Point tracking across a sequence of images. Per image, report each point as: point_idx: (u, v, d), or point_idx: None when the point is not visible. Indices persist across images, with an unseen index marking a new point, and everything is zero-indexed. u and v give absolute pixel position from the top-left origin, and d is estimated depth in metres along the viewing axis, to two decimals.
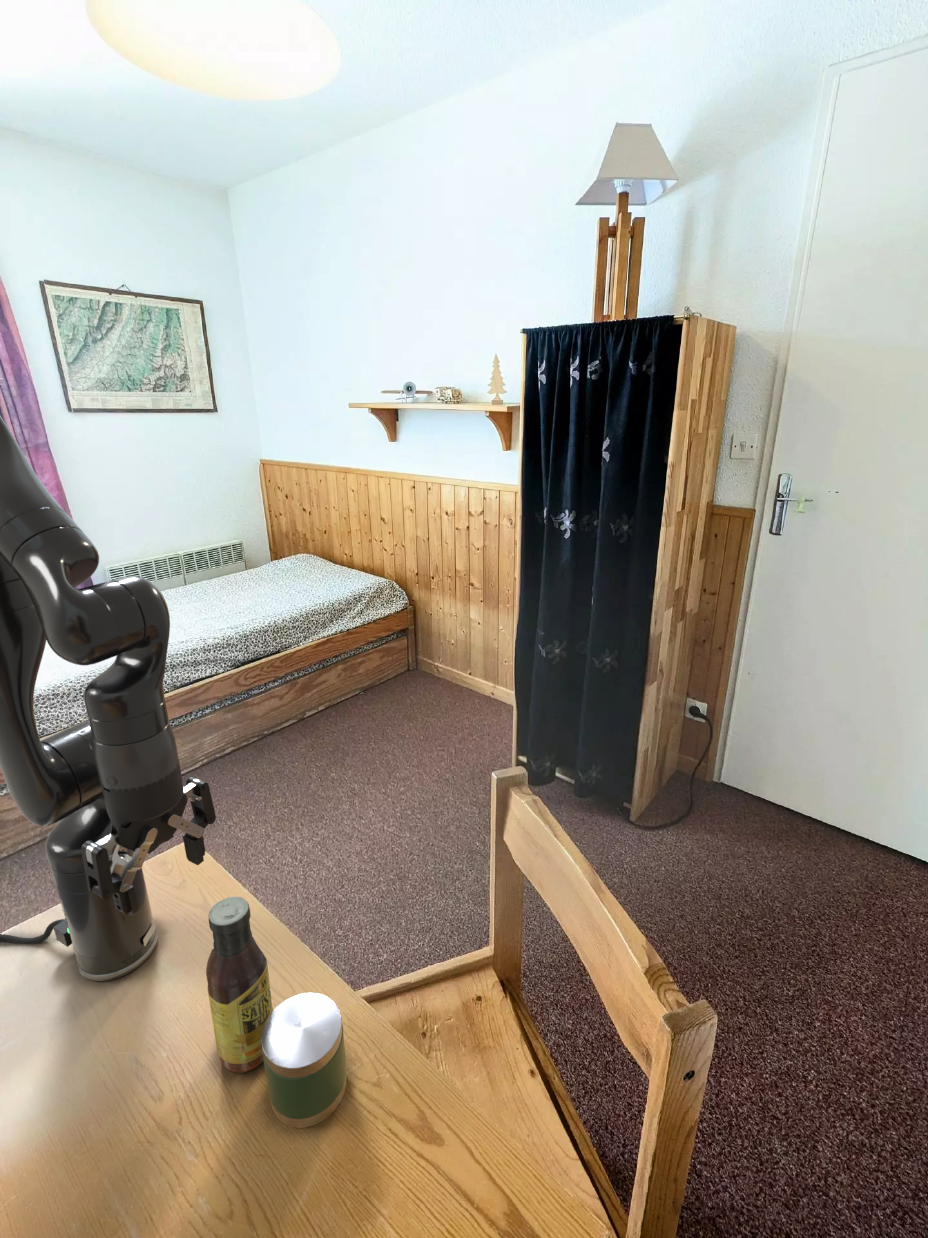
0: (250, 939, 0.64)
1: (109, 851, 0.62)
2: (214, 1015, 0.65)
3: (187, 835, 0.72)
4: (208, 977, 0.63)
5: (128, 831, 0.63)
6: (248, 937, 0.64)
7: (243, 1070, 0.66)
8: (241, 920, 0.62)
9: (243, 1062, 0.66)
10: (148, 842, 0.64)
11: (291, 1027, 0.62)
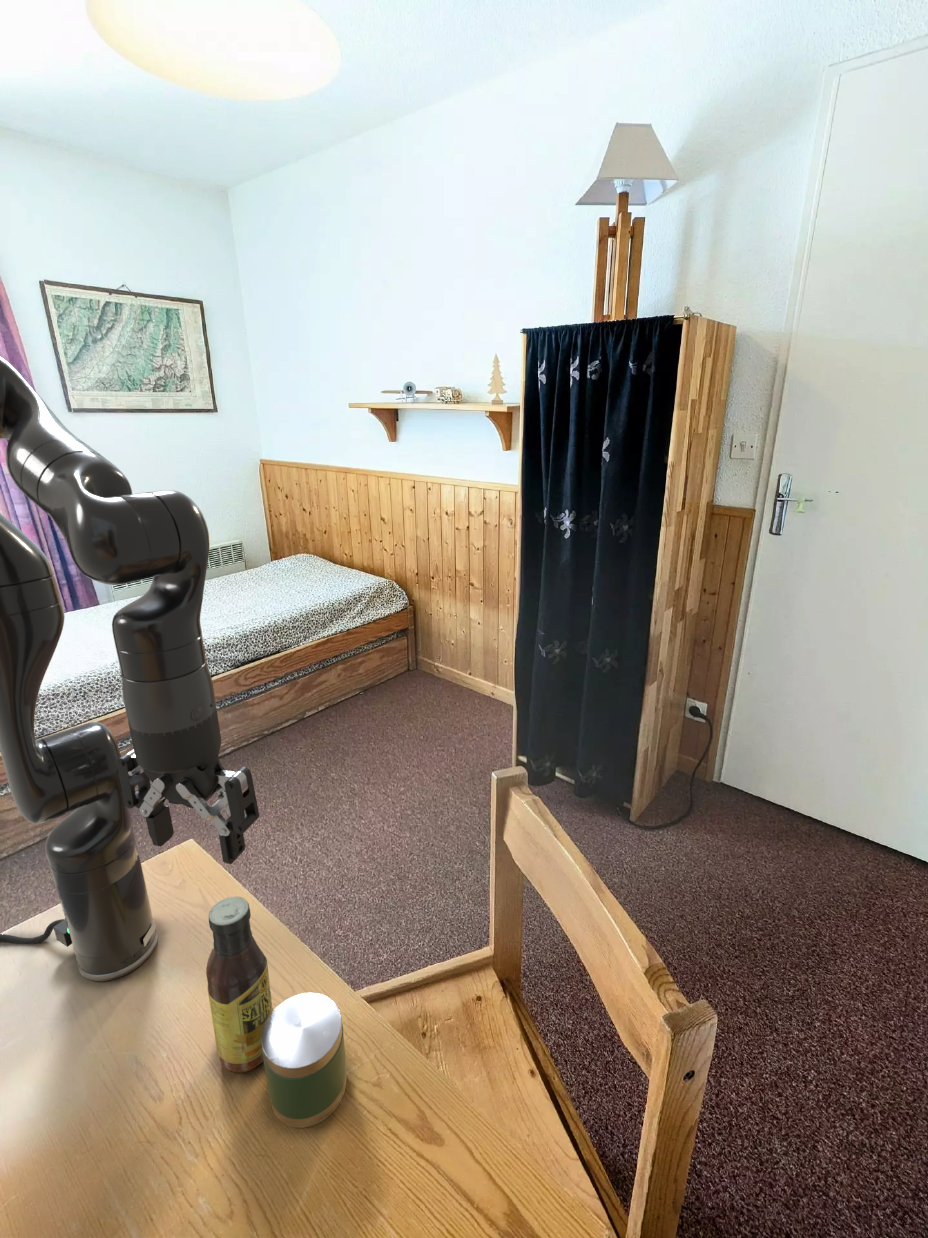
0: (250, 939, 0.64)
1: (138, 768, 0.60)
2: (214, 1015, 0.65)
3: None
4: (208, 977, 0.63)
5: None
6: (248, 937, 0.64)
7: (243, 1070, 0.66)
8: (241, 920, 0.62)
9: (243, 1062, 0.66)
10: (155, 789, 0.58)
11: (291, 1027, 0.62)
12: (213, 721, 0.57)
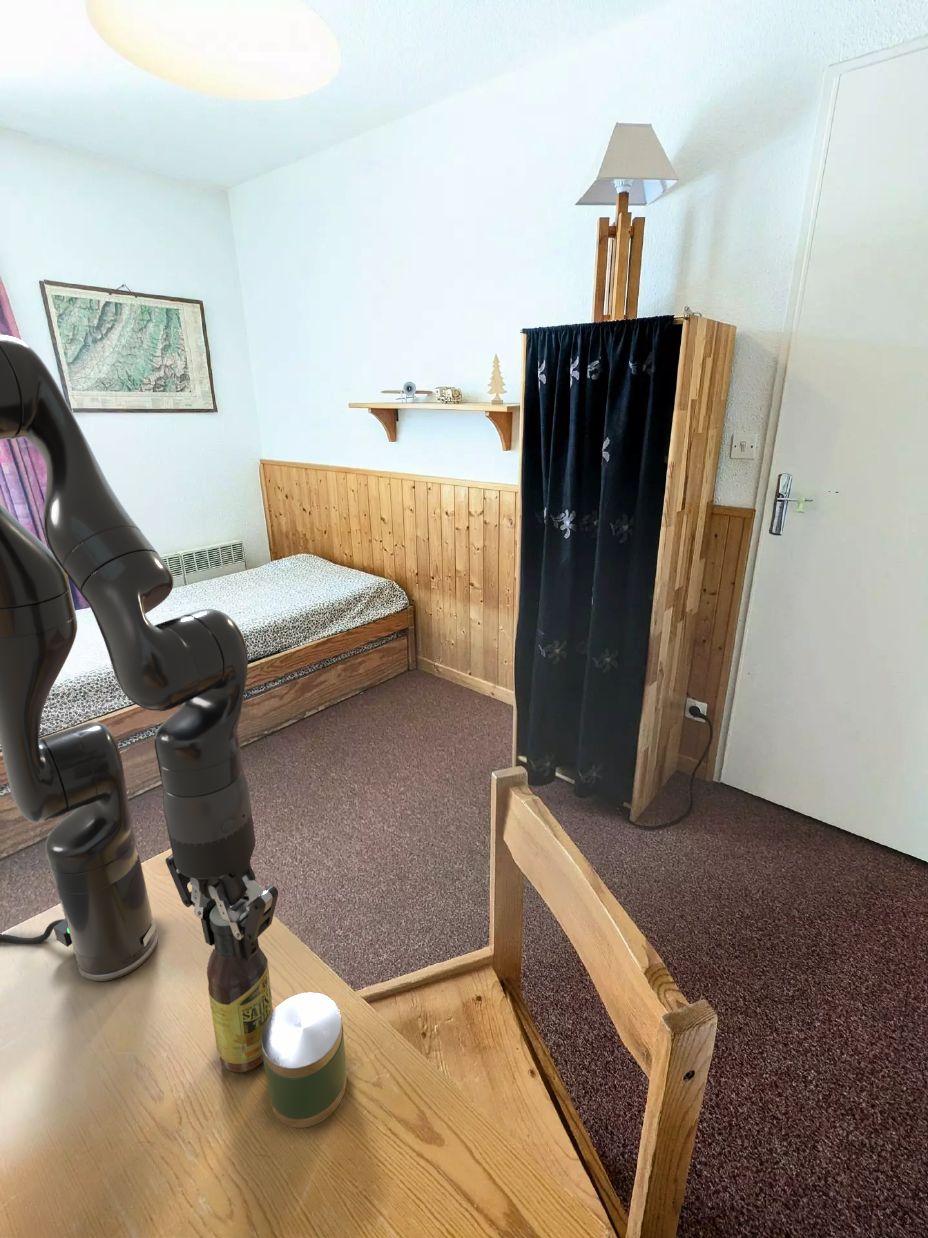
0: None
1: None
2: (214, 1015, 0.64)
3: None
4: (209, 977, 0.63)
5: None
6: None
7: (243, 1070, 0.66)
8: (243, 920, 0.62)
9: (243, 1062, 0.66)
10: (194, 887, 0.60)
11: (291, 1027, 0.62)
12: (245, 830, 0.58)
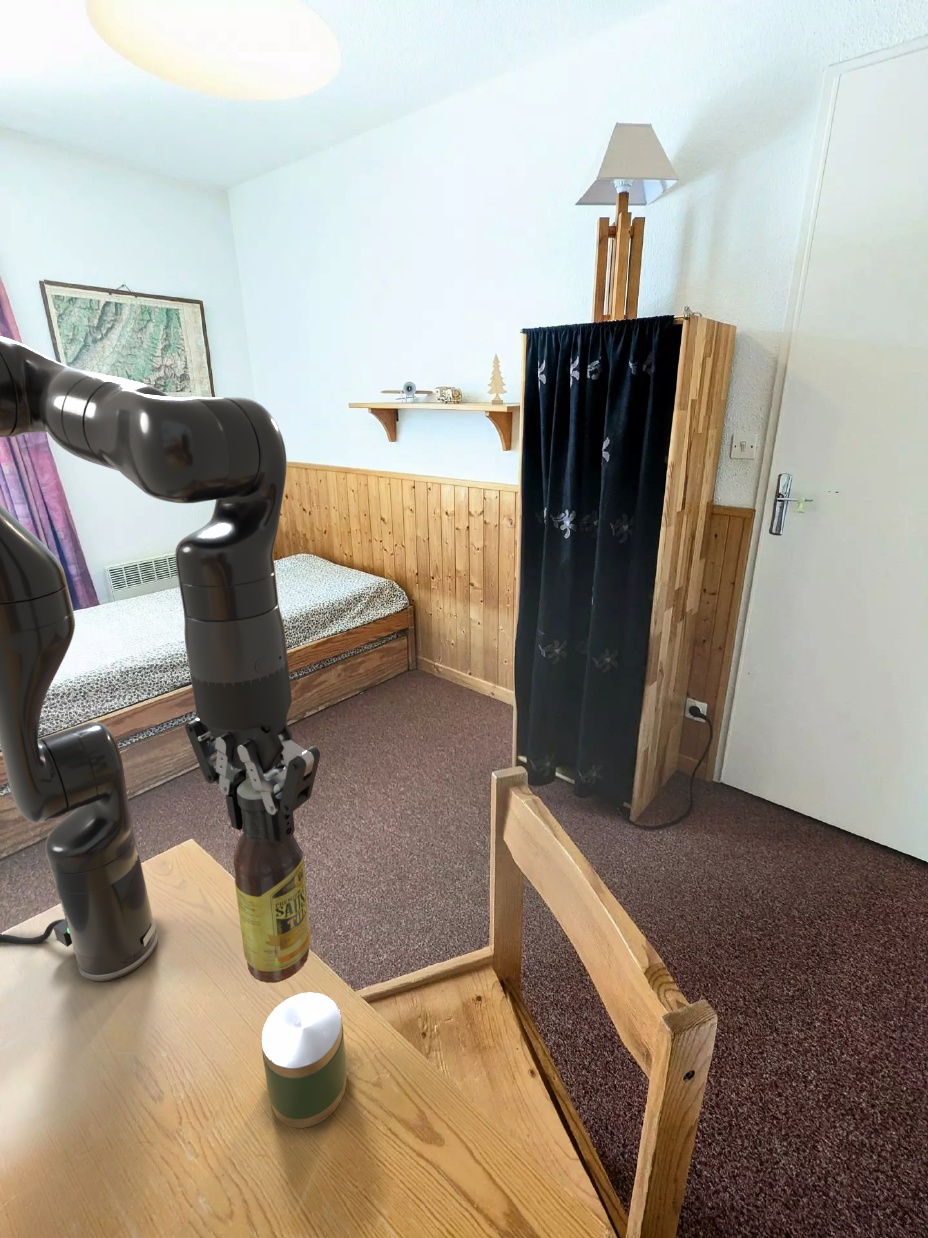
0: None
1: (208, 732, 0.54)
2: (243, 912, 0.55)
3: None
4: (236, 865, 0.54)
5: None
6: None
7: (275, 980, 0.57)
8: None
9: (276, 969, 0.56)
10: (220, 751, 0.51)
11: (291, 1027, 0.62)
12: (282, 676, 0.49)
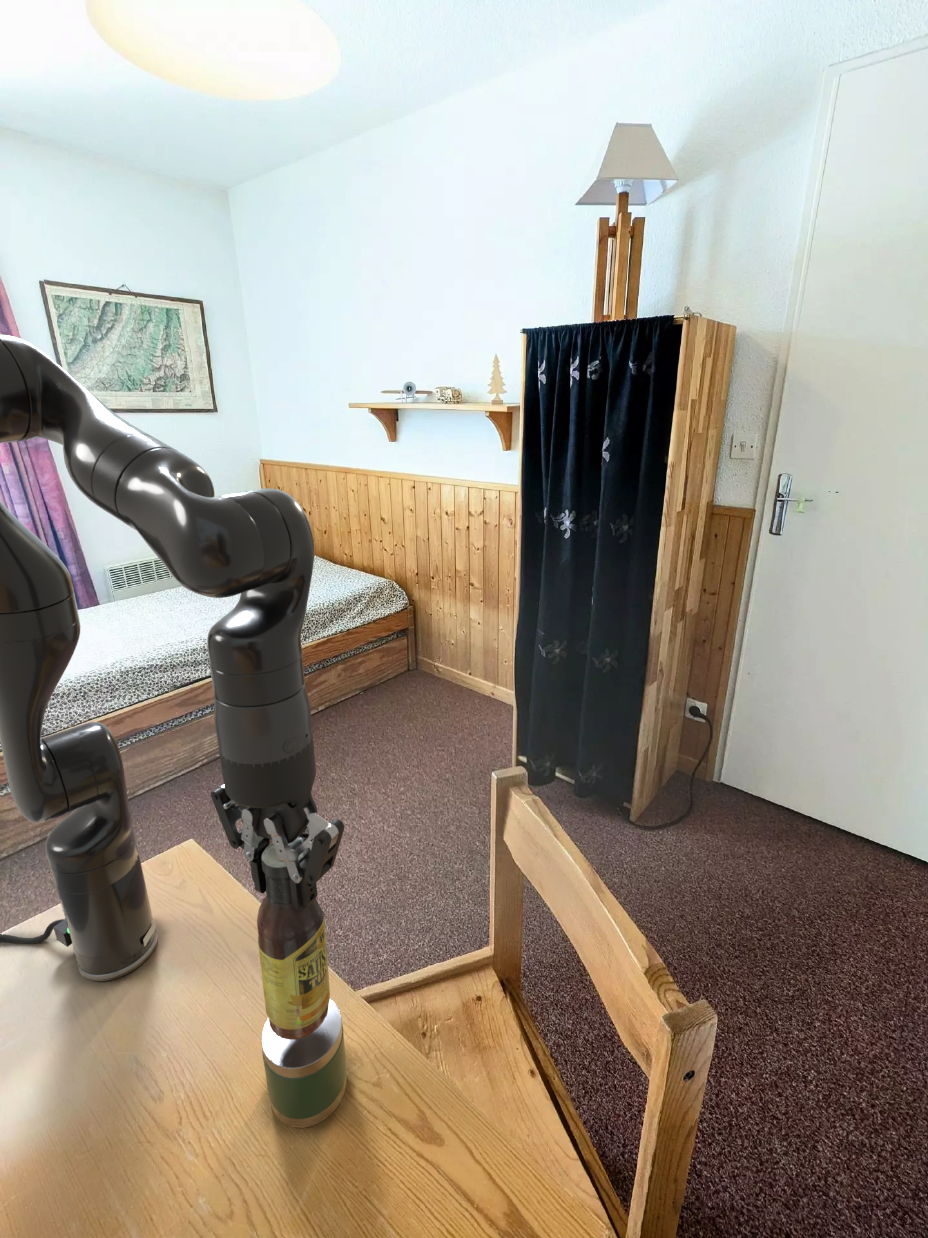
0: None
1: (233, 800, 0.55)
2: (266, 973, 0.57)
3: None
4: (260, 929, 0.56)
5: None
6: None
7: (297, 1037, 0.58)
8: (300, 862, 0.54)
9: (297, 1027, 0.58)
10: (246, 822, 0.52)
11: None
12: (308, 753, 0.50)
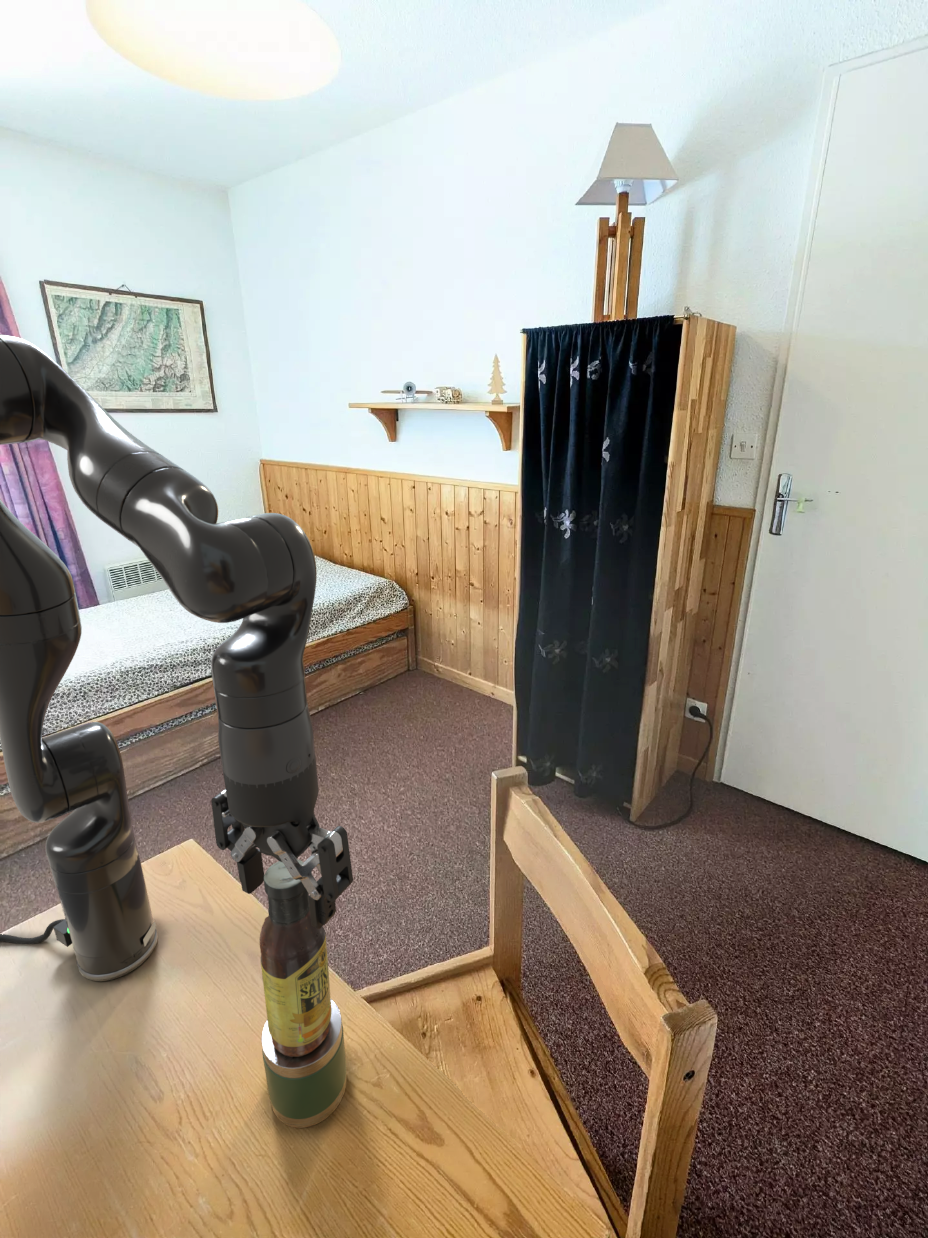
0: None
1: None
2: (268, 991, 0.57)
3: None
4: (262, 948, 0.56)
5: None
6: (307, 903, 0.57)
7: (299, 1054, 0.59)
8: (301, 883, 0.55)
9: (300, 1045, 0.59)
10: (246, 837, 0.53)
11: None
12: (310, 772, 0.51)
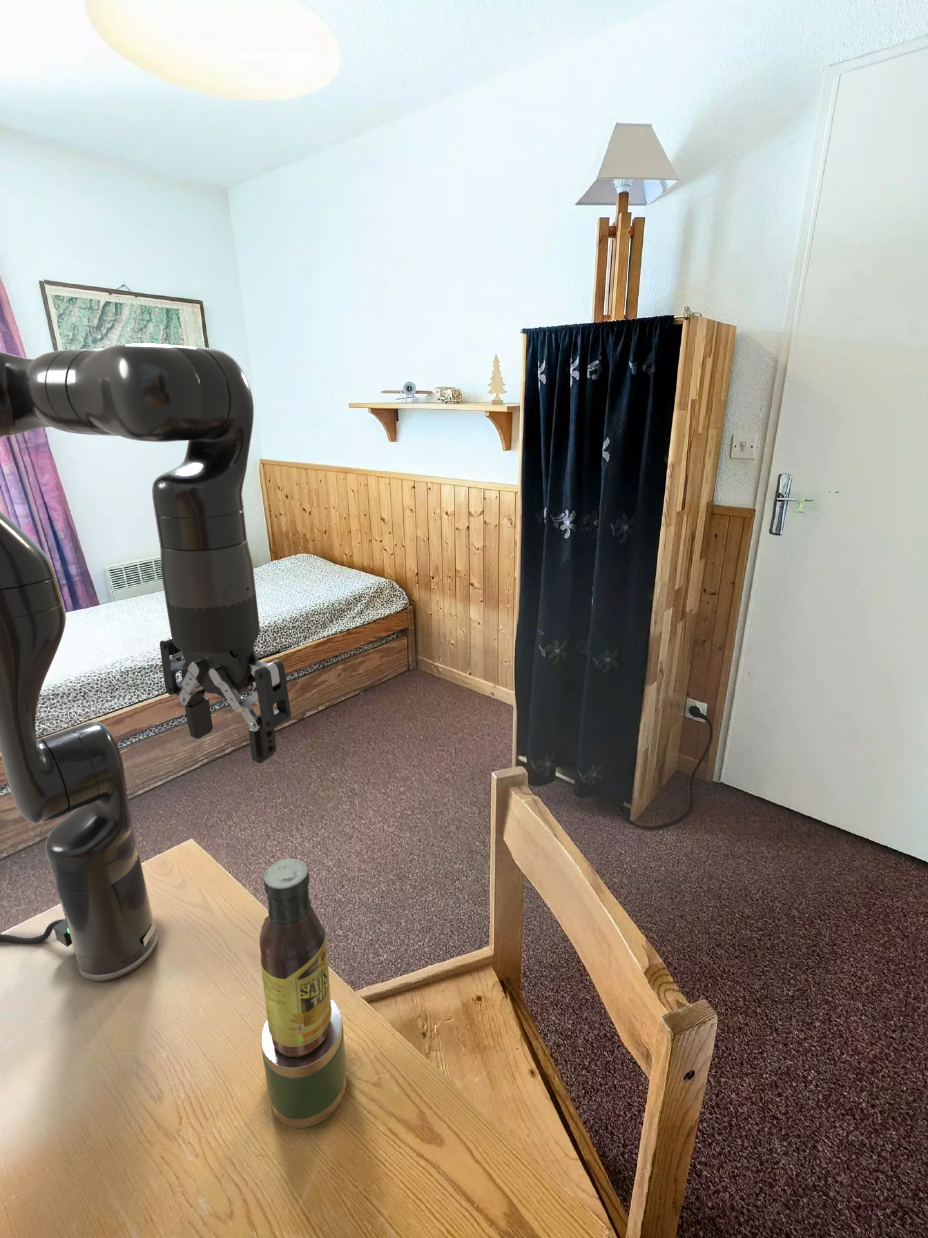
0: (309, 906, 0.57)
1: (179, 654, 0.58)
2: (268, 991, 0.57)
3: None
4: (262, 948, 0.56)
5: None
6: (307, 903, 0.57)
7: (299, 1054, 0.59)
8: (301, 883, 0.55)
9: (300, 1045, 0.59)
10: (191, 674, 0.56)
11: None
12: (249, 606, 0.54)
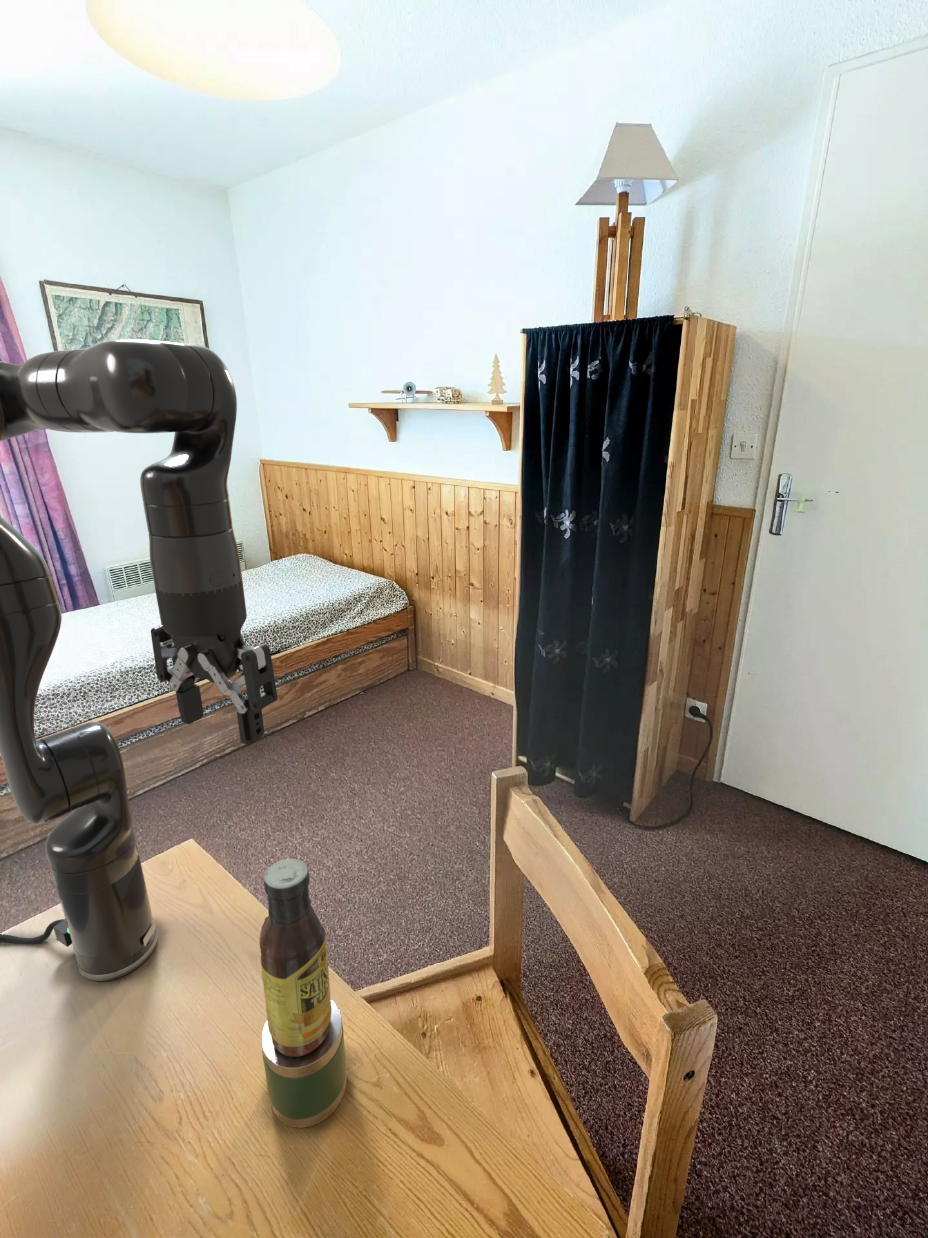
0: (309, 906, 0.57)
1: (170, 641, 0.60)
2: (268, 991, 0.57)
3: None
4: (262, 948, 0.56)
5: None
6: (307, 903, 0.57)
7: (299, 1054, 0.59)
8: (301, 883, 0.55)
9: (300, 1045, 0.59)
10: (180, 659, 0.58)
11: None
12: (236, 592, 0.56)
